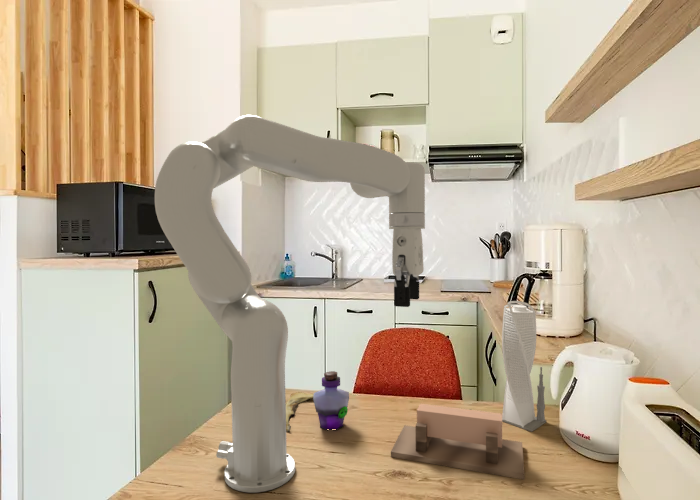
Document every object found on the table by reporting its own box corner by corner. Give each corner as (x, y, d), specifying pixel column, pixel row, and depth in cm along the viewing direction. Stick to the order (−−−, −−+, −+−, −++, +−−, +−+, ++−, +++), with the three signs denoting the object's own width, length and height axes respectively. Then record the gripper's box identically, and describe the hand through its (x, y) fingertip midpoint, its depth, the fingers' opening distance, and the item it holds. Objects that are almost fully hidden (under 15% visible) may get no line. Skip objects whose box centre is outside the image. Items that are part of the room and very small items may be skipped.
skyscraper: (528, 434, 93) (529, 303, 91) (494, 421, 99) (494, 299, 98) (546, 422, 98) (547, 299, 97) (512, 411, 104) (513, 295, 103)
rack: (390, 456, 84) (390, 426, 84) (404, 429, 95) (404, 402, 95) (524, 479, 76) (524, 445, 76) (522, 446, 87) (522, 417, 87)
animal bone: (293, 390, 117) (328, 388, 114) (294, 398, 117) (330, 396, 115) (260, 428, 96) (302, 426, 94) (262, 438, 96) (304, 437, 94)
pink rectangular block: (416, 434, 87) (416, 410, 86) (420, 427, 90) (420, 403, 90) (502, 447, 81) (502, 421, 81) (502, 439, 84) (502, 413, 84)
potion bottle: (342, 436, 92) (341, 381, 92) (305, 430, 95) (304, 376, 95) (356, 420, 101) (355, 368, 100) (321, 414, 104) (321, 365, 103)
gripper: (416, 221, 83) (416, 310, 83) (431, 222, 99) (431, 297, 100) (378, 222, 85) (379, 308, 86) (398, 222, 101) (399, 295, 102)
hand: (407, 302), depth 93 cm, fingers open, 9 cm apart
